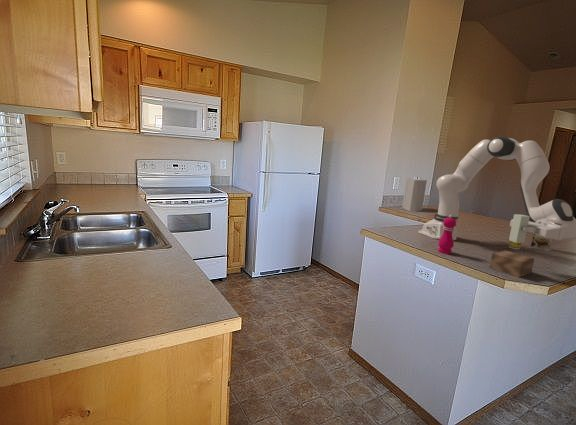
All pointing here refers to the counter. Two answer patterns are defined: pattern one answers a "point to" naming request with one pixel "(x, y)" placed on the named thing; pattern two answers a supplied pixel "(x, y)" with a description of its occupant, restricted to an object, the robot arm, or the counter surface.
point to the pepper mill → (447, 236)
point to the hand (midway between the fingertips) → (517, 227)
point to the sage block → (519, 228)
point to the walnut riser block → (512, 263)
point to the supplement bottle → (514, 245)
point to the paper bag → (414, 194)
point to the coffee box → (541, 243)
